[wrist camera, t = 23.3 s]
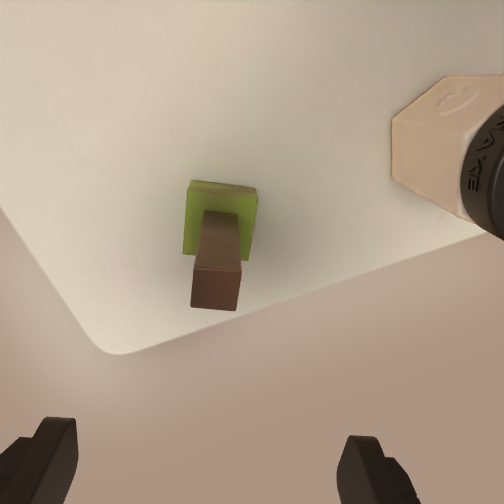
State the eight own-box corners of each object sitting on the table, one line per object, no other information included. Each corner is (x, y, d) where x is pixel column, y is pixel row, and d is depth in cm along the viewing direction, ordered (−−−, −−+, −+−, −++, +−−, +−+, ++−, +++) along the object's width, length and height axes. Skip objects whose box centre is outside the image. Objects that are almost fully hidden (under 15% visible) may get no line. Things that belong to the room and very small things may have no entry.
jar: (471, 51, 26) (650, 26, 15) (515, 143, 29) (693, 180, 18) (363, 136, 28) (451, 170, 17) (415, 214, 31) (519, 287, 20)
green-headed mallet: (255, 187, 29) (272, 251, 18) (246, 245, 31) (256, 334, 20) (191, 179, 28) (168, 239, 17) (186, 239, 30) (163, 326, 19)
